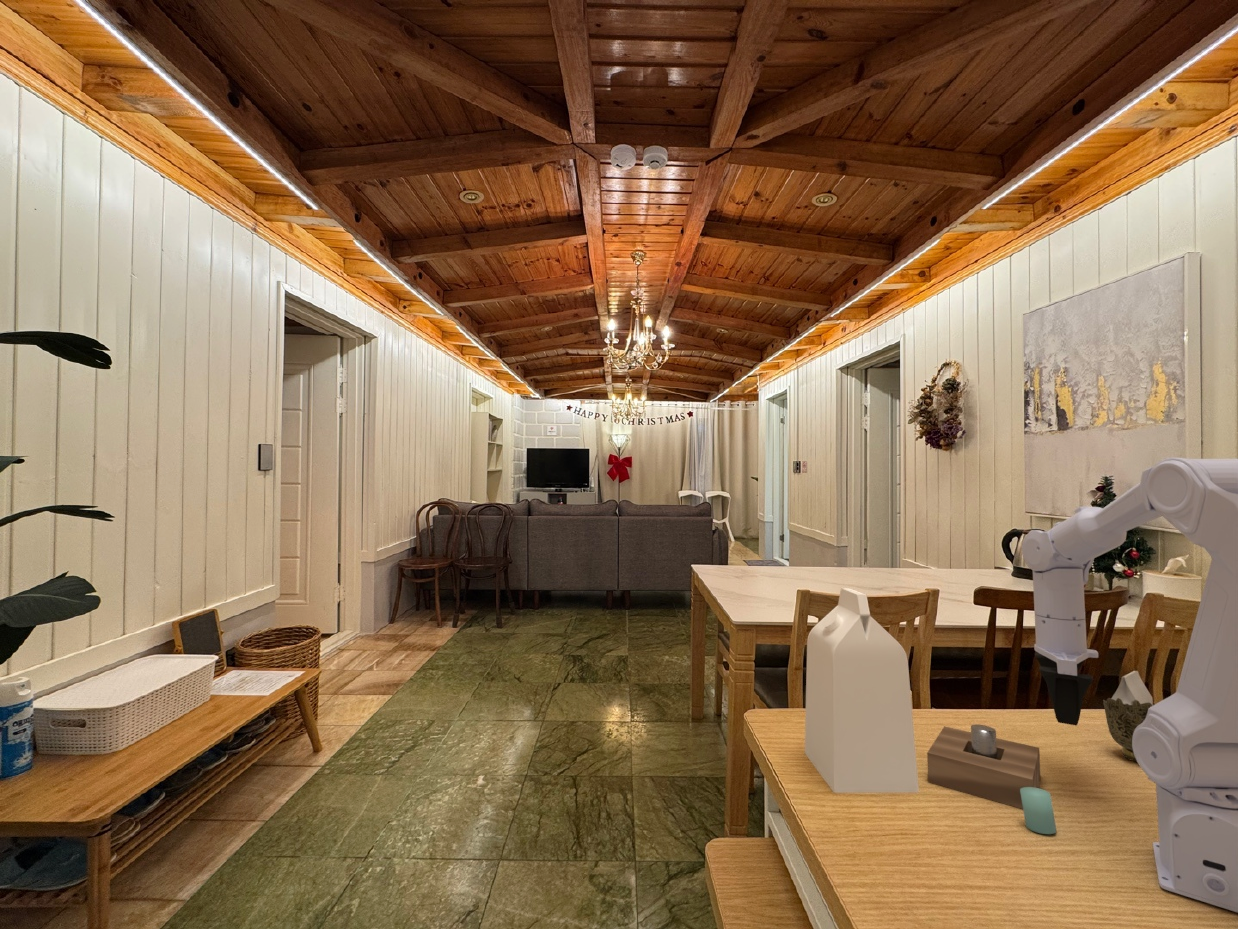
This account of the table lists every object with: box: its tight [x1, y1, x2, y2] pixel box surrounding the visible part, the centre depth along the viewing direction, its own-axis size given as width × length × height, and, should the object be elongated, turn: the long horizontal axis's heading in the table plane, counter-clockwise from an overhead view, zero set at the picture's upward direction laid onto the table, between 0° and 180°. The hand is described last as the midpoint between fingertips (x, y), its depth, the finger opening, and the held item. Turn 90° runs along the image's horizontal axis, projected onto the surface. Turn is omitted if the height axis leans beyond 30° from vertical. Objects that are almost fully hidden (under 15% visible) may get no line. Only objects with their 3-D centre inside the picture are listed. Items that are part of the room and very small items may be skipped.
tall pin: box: [970, 724, 997, 759], centre depth 81 cm, size 3×3×7 cm
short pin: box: [1020, 787, 1057, 835], centre depth 69 cm, size 3×3×4 cm
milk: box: [804, 587, 920, 794], centre depth 84 cm, size 12×12×26 cm
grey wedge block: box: [1111, 670, 1154, 705], centre depth 96 cm, size 4×7×10 cm, turn 124°
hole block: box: [926, 725, 1041, 810], centre depth 81 cm, size 12×12×4 cm
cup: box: [1103, 697, 1154, 763], centre depth 87 cm, size 8×7×8 cm
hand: (1064, 714), depth 80 cm, fingers open, 7 cm apart
